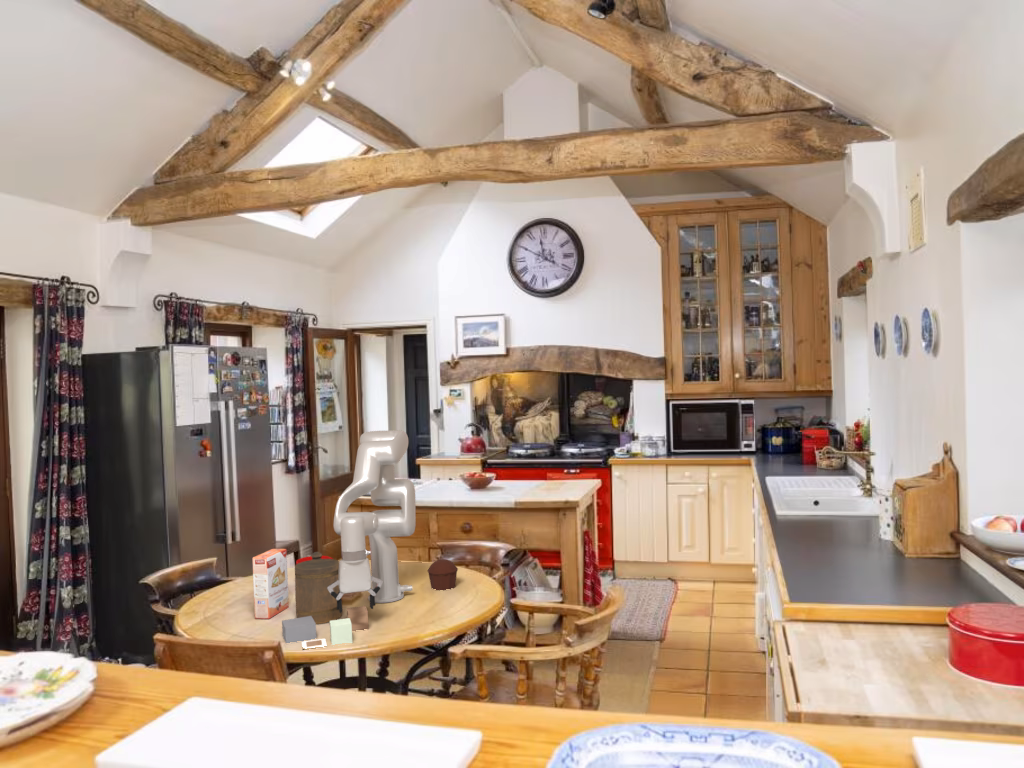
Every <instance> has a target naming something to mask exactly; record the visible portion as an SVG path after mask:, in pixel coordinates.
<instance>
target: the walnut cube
mask: <svg viewBox="0 0 1024 768" xmlns="http://www.w3.org/2000/svg"><path fill="white" fill-rule="evenodd" d="M367 608H368V607H366V605H362V606H355V607H347V608H346V618H350V621H351V624H352V631H355V632H357V631H356V630H363V631H365V630H364V629H369V613H368V609H367Z"/></svg>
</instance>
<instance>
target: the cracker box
mask: <svg viewBox="0 0 1024 768" xmlns="http://www.w3.org/2000/svg"><path fill="white" fill-rule="evenodd" d="M287 553H288V550H287V548H271V549H269V550H266V551H265V552H262V553H260V554H257V555H256V556H253V557H252V561H251V562H252V579H253V580H252V582H253V585H252V586H253V604H254V605H253V606H254V608H253V609H254V619H258V620H259V619H262V620H263V619H264V620H270V619H272V618H273V617H274V616H276V615H278V614H279V613H281V612H282V611H284V610H286V609H288V608H289V606H290V605H289V602H290V601H289V581H288V579H289V578H288V555H287Z"/></svg>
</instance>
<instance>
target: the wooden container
mask: <svg viewBox="0 0 1024 768" xmlns="http://www.w3.org/2000/svg"><path fill="white" fill-rule="evenodd" d="M322 556H323V554H322V552H320V551H314V552H312V553H311V557H312V558H313V559H312V560H308V561H304V562H301V563H298V564H296V563H295V565H294V579H295V580H294V581H295V583H294V587H295V588H294V589H295V591H294V592H295V594H294V595H295V598H294V600H295V613H296V616H295V617H296V618H301V617H307V616H312V618H313V620H314V621H315V623H316V625H324V624H327V622H328V623H330V621H332V620H336V619H337V620H339V619H341V618H342V616H343V612H342V613H340V611H339V610H337V600H336V599H335V598H334V597H333V596H332V595H331V594H330V592H329V590H328V589H327V586H328V585H330V584H332V583H333V582H335V581H336V580H338V571H339V562H340V560H337V559H334V558H333V559H322V558H321V557H322ZM333 590H334V592H335V593H338V592H339V591H340V590H339V586H338V585H337V586H335V587H334V588H333ZM338 618H339V619H338Z"/></svg>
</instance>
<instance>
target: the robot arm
mask: <svg viewBox="0 0 1024 768" xmlns="http://www.w3.org/2000/svg"><path fill="white" fill-rule="evenodd" d="M359 444H360V445H359V446H358V448H357V452H356V458H355V464H354V465H355V467H354V472H353V479H352V483H351V484H350V485H349V486H348V487H346V489H345V490H343V492H342V493H341V495H340V496H339V497H338V499H337V501H336V505H335V510H334V516H333V530H334V532H335V533H336V535H338V536H340V544H341V545H340V546H341V560H339V571H338V580H336V581H335V582H333V583H332V584H330V585H328V586H327V589H328V590H329V592H330V594H331V595H332V596H333V597H334V598H335V599H336V600H337V610H339V611H340V613H342V614H343V600H342V599H343V598H342V597H343V596H344V594H353V593H361V592H368V593H369V595H368V598H367V600H368V601H369V608H370V609H371V610H374V606H376V603H377V604H384V603H386V604H387V603H392V602H396V601H399V600H402V599H403V598H404V596H405V594H404V592H411V591H413V585H412V584H411V585H409V584H404V585H403V584H400V579H399V562H398V561H399V560H398V547H397V545H396V543H395V542H394V540H393V539H392V537H395V538H396V537H398V538H399V537H411V536H412V535H413V534H414V533H415V530H416V523H417V521H416V519H417V518H416V488H415V485H414V482H413V481H412V480H411V479H408V478H396V477H395V465H397V464H398V463H400V461H401V459H402V458H403V457H404V455H405V454H406V452H407V450H408V447H409V437H408V434H407V432H405V431H404V430H402V429H399V430H398V429H395V430H393V429H391V430H390V429H389V430H370V431H366V432H364V433H361V435H360V437H359ZM369 493H370V500H371V503H372V504H373V505H374V506H377V507H398V506H399V507H400V508H401V509H378V510H377V509H376V510H373V511H371V512H370V511H361V512H360V511H352V512H347V511H348V509H349V507H350V505H351V504H352V503H353V502H354V501H356V500H357V499H359V498H360V497H362V496H365V495H366V494H369ZM367 536H368V539H369V550H367V549H366V537H367ZM369 555H370V559H369V558H368V556H369ZM369 560H370V561H369ZM337 585H338V586H339V590H340V591H339V592H338V593H335V592H334V590H333V588H334V587H335V586H337Z"/></svg>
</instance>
